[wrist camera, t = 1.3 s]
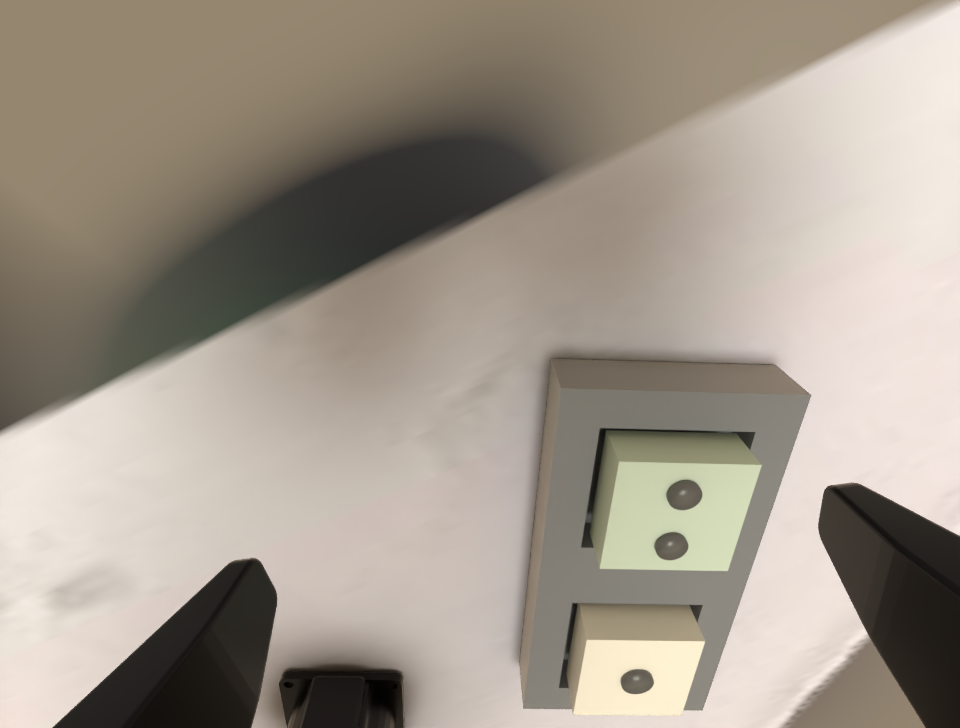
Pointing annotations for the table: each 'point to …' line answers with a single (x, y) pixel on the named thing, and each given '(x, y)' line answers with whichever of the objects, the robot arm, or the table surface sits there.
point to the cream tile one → (632, 659)
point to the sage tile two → (671, 500)
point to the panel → (572, 488)
